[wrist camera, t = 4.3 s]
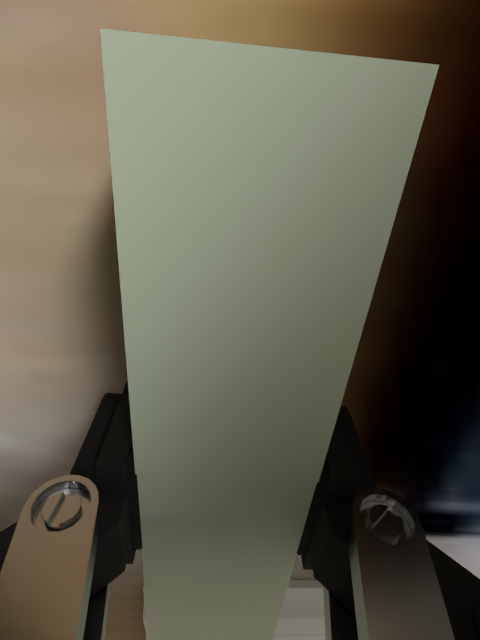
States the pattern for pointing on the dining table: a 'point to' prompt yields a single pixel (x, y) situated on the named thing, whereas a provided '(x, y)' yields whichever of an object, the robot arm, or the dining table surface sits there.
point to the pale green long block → (244, 296)
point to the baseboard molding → (295, 612)
